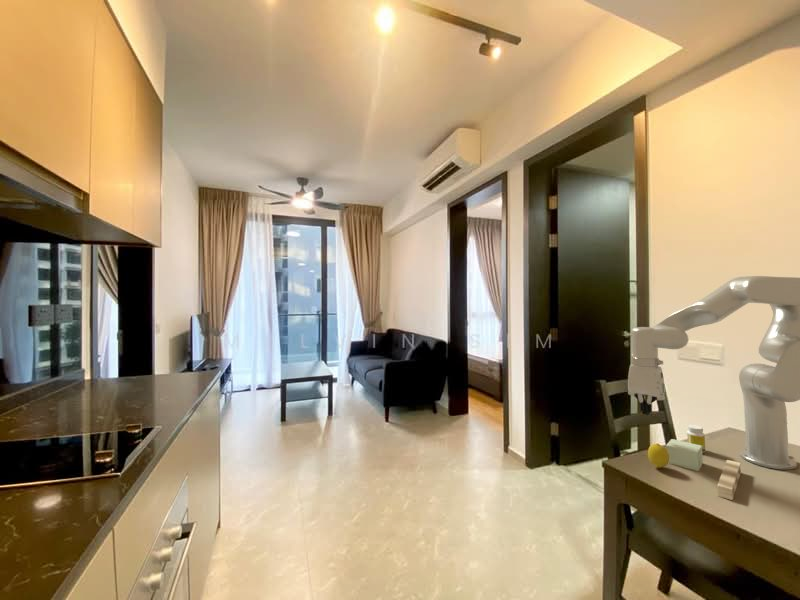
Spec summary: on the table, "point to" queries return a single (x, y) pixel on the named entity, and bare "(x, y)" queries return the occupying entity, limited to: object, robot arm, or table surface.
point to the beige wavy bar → (729, 480)
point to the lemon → (658, 455)
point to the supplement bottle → (696, 436)
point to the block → (685, 454)
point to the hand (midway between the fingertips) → (646, 413)
